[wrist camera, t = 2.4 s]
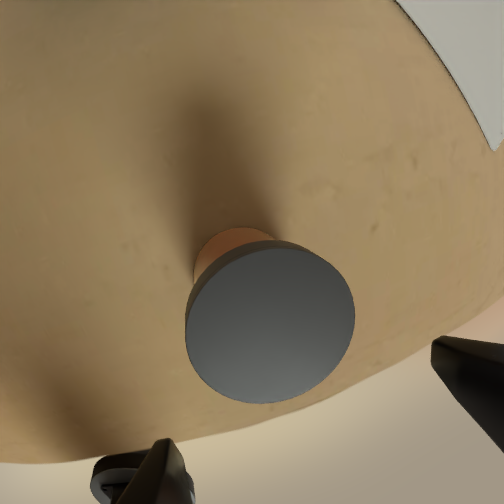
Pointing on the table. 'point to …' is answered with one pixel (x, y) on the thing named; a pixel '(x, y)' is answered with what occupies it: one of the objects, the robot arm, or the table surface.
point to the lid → (268, 322)
